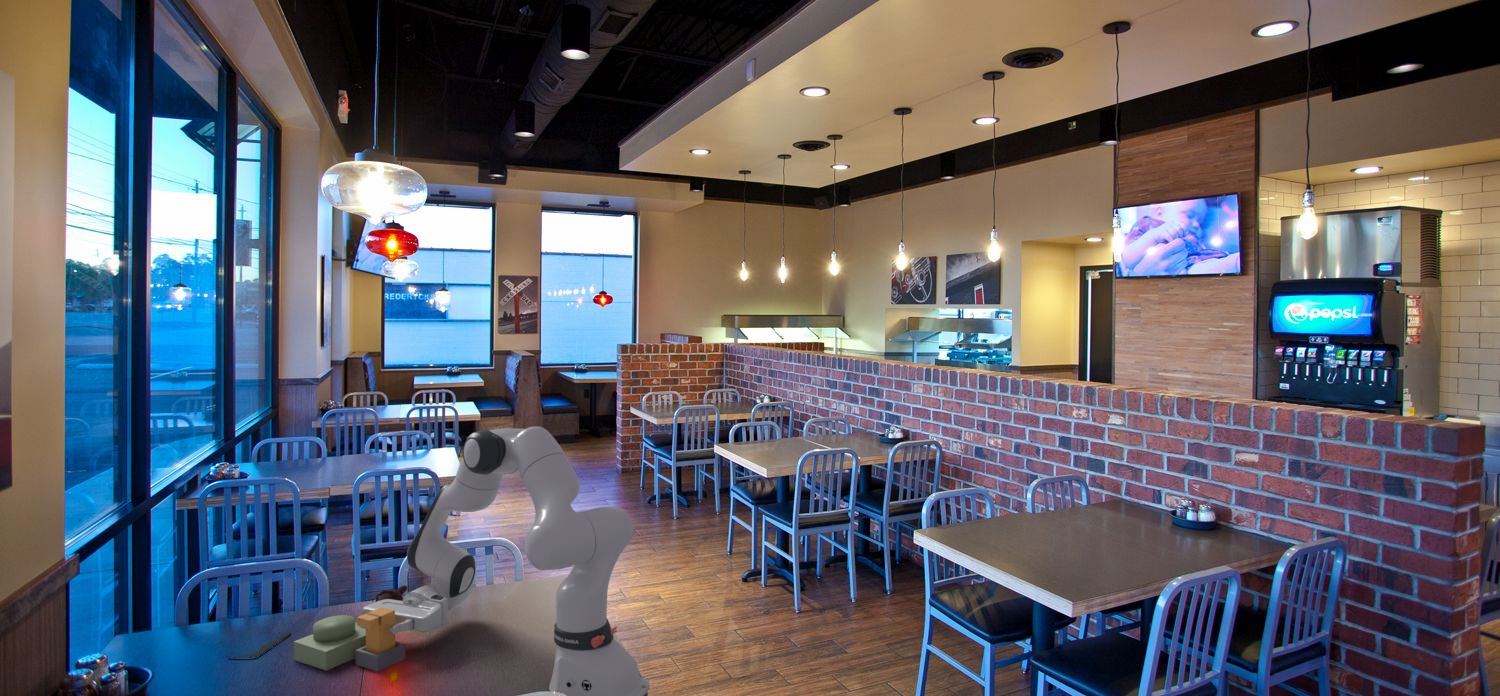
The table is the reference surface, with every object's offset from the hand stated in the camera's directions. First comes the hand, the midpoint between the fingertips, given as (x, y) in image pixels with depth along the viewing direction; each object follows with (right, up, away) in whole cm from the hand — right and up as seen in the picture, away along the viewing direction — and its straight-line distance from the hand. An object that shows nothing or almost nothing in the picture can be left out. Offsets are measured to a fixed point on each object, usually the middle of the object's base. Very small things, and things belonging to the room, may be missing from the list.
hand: (377, 627), depth 181 cm
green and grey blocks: (-7, -8, +3) cm, 12 cm away
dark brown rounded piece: (-11, -7, +30) cm, 33 cm away
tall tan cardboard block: (0, -9, 0) cm, 9 cm away
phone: (-34, -8, +10) cm, 36 cm away
